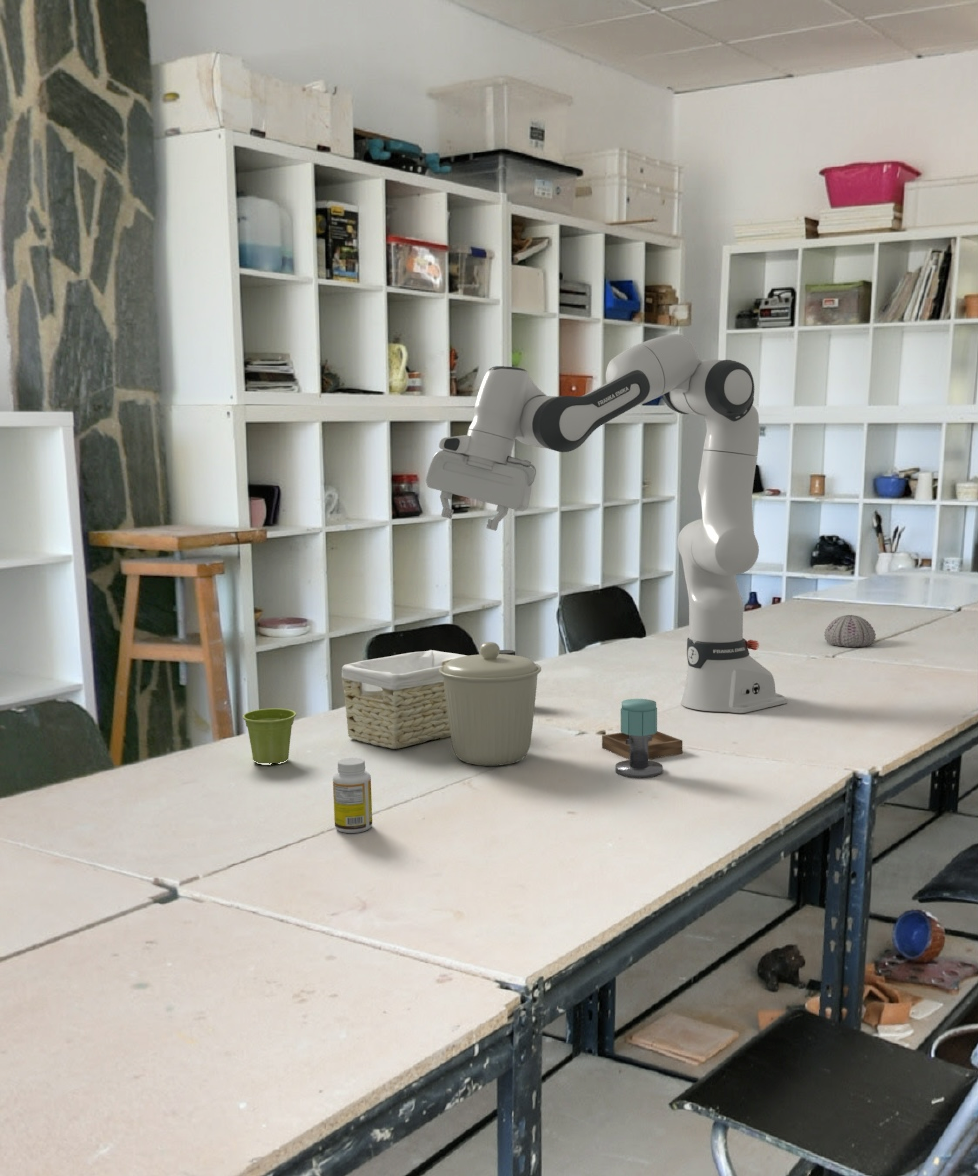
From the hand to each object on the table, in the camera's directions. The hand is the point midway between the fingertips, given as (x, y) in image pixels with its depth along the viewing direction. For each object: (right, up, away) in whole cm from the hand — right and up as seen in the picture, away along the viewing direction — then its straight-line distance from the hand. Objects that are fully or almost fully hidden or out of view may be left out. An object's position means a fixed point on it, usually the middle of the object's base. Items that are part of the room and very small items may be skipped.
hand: (468, 523), depth 222 cm
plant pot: (-35, -43, -8) cm, 56 cm away
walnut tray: (+32, -41, -5) cm, 52 cm away
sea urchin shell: (+101, -27, +99) cm, 144 cm away
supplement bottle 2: (+7, -37, +32) cm, 50 cm away
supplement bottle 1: (-16, -48, -45) cm, 68 cm away
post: (+29, -43, -18) cm, 55 cm away
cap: (+29, -36, -19) cm, 50 cm away
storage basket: (-11, -41, +10) cm, 43 cm away
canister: (+4, -43, -8) cm, 44 cm away
